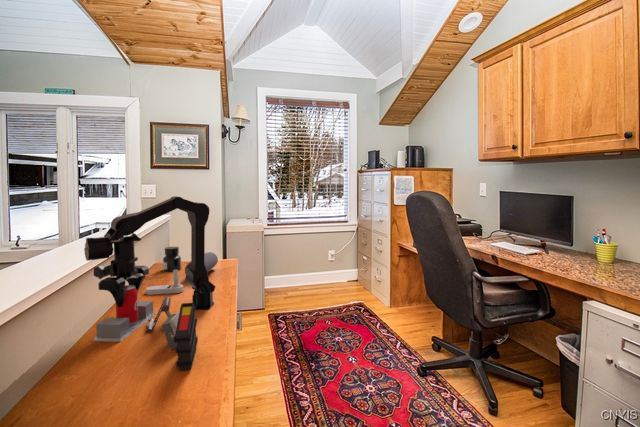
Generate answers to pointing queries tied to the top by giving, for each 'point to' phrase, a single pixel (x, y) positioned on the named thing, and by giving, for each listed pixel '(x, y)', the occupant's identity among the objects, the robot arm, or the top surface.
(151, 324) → the portable electronic device stand
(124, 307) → the beverage can
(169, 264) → the ink bottle
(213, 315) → the top surface
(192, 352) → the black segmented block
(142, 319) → the rail
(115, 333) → the mounted modules
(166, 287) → the electronic device
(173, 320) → the electrical switch
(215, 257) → the bluetooth speaker
